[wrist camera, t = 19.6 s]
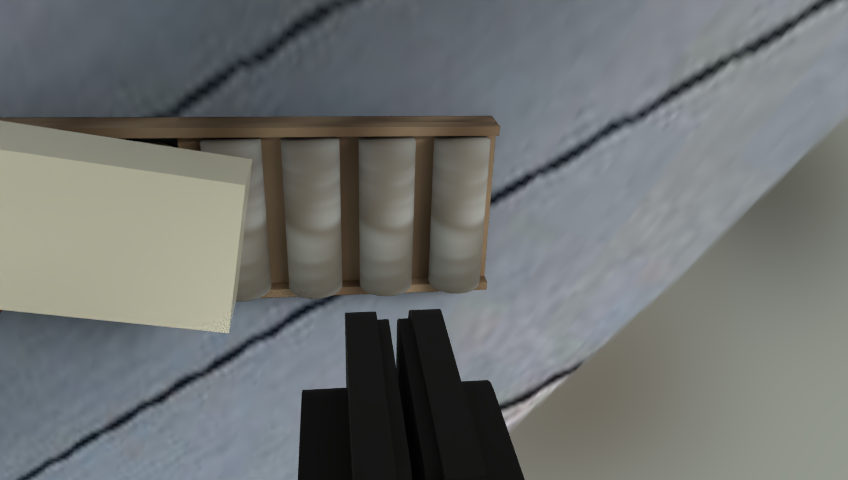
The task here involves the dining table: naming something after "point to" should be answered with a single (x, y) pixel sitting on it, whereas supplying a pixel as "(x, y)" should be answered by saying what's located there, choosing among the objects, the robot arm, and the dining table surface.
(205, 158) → the slab
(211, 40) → the dining table surface
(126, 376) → the dining table surface
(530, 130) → the dining table surface
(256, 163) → the track
